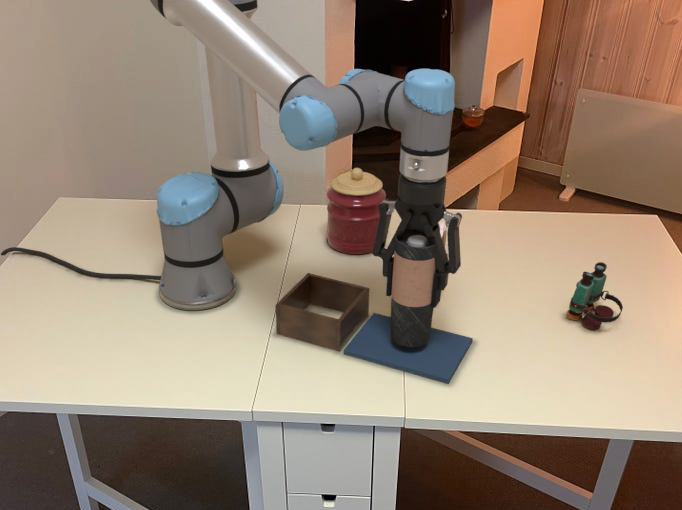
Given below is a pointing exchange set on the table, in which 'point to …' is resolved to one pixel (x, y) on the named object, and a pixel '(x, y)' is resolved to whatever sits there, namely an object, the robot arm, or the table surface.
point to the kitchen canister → (354, 211)
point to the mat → (409, 350)
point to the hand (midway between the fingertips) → (412, 298)
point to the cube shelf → (318, 326)
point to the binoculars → (592, 299)
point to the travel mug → (412, 289)
